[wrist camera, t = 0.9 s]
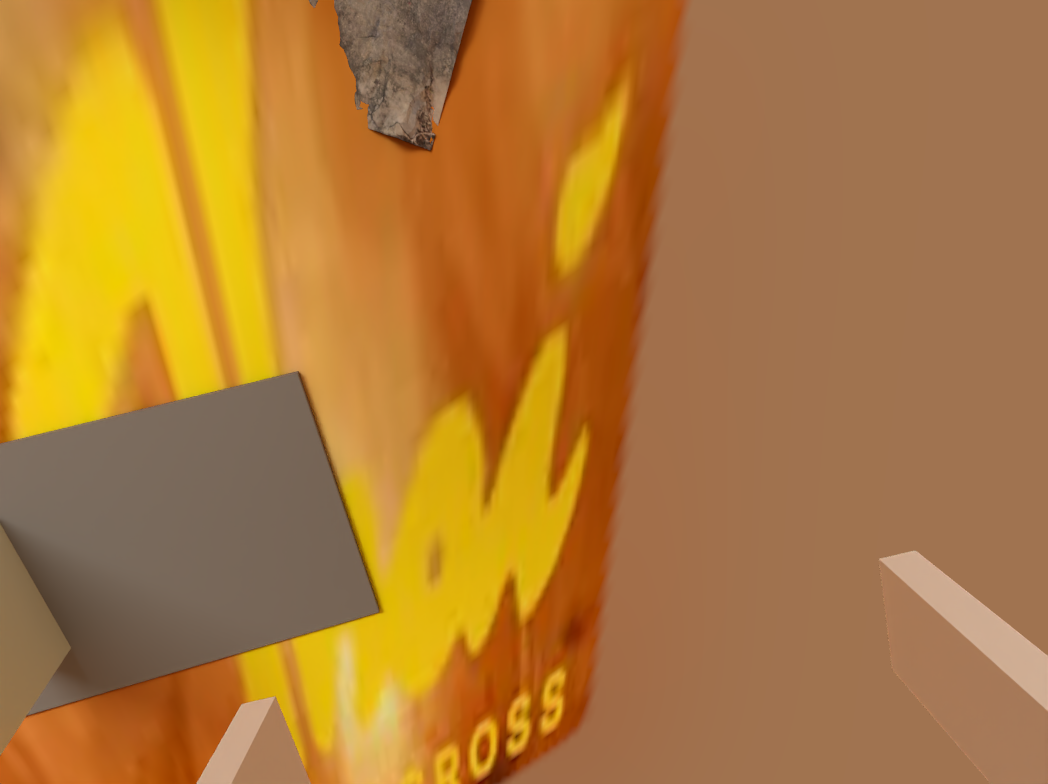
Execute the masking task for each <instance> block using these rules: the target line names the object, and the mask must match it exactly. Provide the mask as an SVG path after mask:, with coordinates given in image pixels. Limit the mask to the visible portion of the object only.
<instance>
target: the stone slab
mask: <svg viewBox="0 0 1048 784" xmlns="http://www.w3.org/2000/svg"><path fill="white" fill-rule="evenodd" d="M471 1H472V0H334V7H335V10H336V12H337V15H338V25H339V30H340V46H341V47H342V48H343V49H344V51H345V53H346V56H347V59H348V63H349V67H350V69H351V70H352V72H353V74H354V76H355V78H356V89H357V91H356V93H355V104H356V107H357V110H358V109H363V108H360V107H359V106H360V103H361V101H362V102H364V103H366V104H369V107H368V115H367V116H368V128H369V129H372V130H375V131H377V132H380V133H383V134H386V135H389V136H392V137H395V138H398V139H401V140H403V141H406V142H409V143H411V144H414V145H417V146H420V147H422V148H425V149H428V150H431V149H432V145H433V141H434V138H435V134H434V133H432V122H431V120H432V116H433V120H434V122H435V123H436V124H437V126H438V123H439V120H440V116H441V112H442V109H443V105H444V101H445V97H446V94H447V90H448V86H449V83H450V79H451V75H452V71H453V68H454V64H455V60H456V57H457V53H458V49H459V46H460V42H461V38H462V34H463V31H464V27H465V23H466V20H467V16H468V12H469V9H470V5H471ZM309 2H310V4H311V5H312V6H313V7H314V8H315V6H316V4H317V2H318V0H309ZM431 107H433V108H434V110H433V109H431ZM433 112H434V114H433ZM431 133H432V134H431ZM431 137H432V139H433V141H432V142H431V144H430V138H431ZM425 138H426V139H425Z"/></svg>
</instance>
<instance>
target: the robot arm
mask: <svg viewBox="0 0 1048 784" xmlns="http://www.w3.org/2000/svg"><path fill="white" fill-rule="evenodd" d="M879 564H880V572H881V581H882V590H883V598H884V606H885V614H886V623H887V630H888V639H889V648H890V656H891V664H892V670H893V671H894V672H895V674H896V675H897V676H898V677H899V678H900V679H901V680H902V681H903V683H904V684H905V685H906V686H907V688H908V689H909V690H910V691H911V692H912V693H913V694H914V696H915V697H916V698H917V699H918V700H919V701H920V703H921V704H922V705H923V706H924V707H925V708H926V710H927V711H928V712H929V713H930V714H931V715H932V717H933V718H934V719H935V720H936V721H937V722H938V724H939V725H940V726H941V727H942V728H943V729H944V730H945V732H946V733H947V734H948V735H949V736H950V737H951V739H953V741H954V742H955V743H956V744H957V746H958V747H959V748H960V749H961V750H962V751H963V753H964V754H965V755H966V756H967V757H968V758H969V759H970V761H971V762H972V763H973V764H974V765H975V766H976V768H977V769H978V770H979V771H980V772H981V773H982V774H983V776H984V777H985V778H986V779H987V780H988V782H989V783H990V784H1048V656H1047V655H1046V654H1045V653H1043V652H1042V651H1041V650H1040V649H1038V648H1037V647H1036V646H1035V645H1033V644H1032V643H1031V642H1029V641H1028V640H1027V639H1026V638H1024V637H1023V636H1022V635H1021V634H1020V633H1018V632H1017V631H1016V630H1015V629H1013V628H1012V627H1011V626H1010V625H1008V624H1007V623H1006V622H1004V621H1003V620H1002V619H1001V618H999V617H998V616H997V615H996V614H994V613H993V612H992V611H991V610H989V609H988V608H987V607H986V606H984V605H983V604H982V603H981V602H979V601H978V600H977V599H976V598H974V597H973V596H972V595H971V594H969V593H968V592H967V591H966V590H964V589H963V588H962V587H961V586H959V585H958V584H957V583H956V582H954V581H953V580H952V579H950V578H949V577H948V576H947V575H946V574H944V573H943V572H942V571H941V570H939V569H938V568H937V567H935V566H934V565H933V564H932V563H930V562H929V561H928V560H927V559H925V558H924V557H923V556H922V555H920V554H919V553H918V552H917V551H912V552H907V553H903V554H898V555H895V556H890V557H885V558H881V559H879ZM197 784H311V783H310V780H309V778H308V776H307V773H306V771H305V768H304V766H303V763H302V761H301V758H300V756H299V753H298V751H297V748H296V746H295V743H294V741H293V739H292V736H291V734H290V731H289V729H288V726H287V724H286V721H285V719H284V716H283V714H282V711H281V709H280V706H279V704H278V702H277V699H276V697H271V698H266V699H262V700H257V701H253V702H249V703H244V704H241V706H240V708H239V710H238V711H237V713H236V715H235V717H234V718H233V720H232V722H231V724H230V725H229V727H228V729H227V731H226V733H225V734H224V736H223V738H222V740H221V741H220V743H219V745H218V747H217V748H216V750H215V752H214V754H213V755H212V757H211V759H210V761H209V762H208V764H207V766H206V768H205V769H204V771H203V773H202V775H201V777H200V778H199V780H198V782H197Z"/></svg>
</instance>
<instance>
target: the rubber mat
mask: <svg viewBox="0 0 1048 784" xmlns="http://www.w3.org/2000/svg"><path fill="white" fill-rule="evenodd" d="M0 524H1V526H2V528H3V529H4V531H5V533H6V535H7V536H8V538H9V540H10V542H11V543H12V545H13V547H14V549H15V550H16V552H17V554H18V556H19V557H20V559H21V561H22V563H23V564H24V566H25V568H26V570H27V571H28V573H29V575H30V577H31V578H32V580H33V582H34V584H35V585H36V587H37V589H38V591H39V592H40V594H41V596H42V598H43V599H44V601H45V603H46V605H47V606H48V608H49V610H50V612H51V613H52V615H53V617H54V619H55V620H56V622H57V624H58V626H59V627H60V629H61V631H62V633H63V634H64V636H65V638H66V640H67V641H68V643H69V645H70V647H71V649H70V651H69V652H68V654H67V655H66V657H65V658H64V660H63V661H62V663H61V664H60V666H59V667H58V669H57V670H56V672H55V673H54V675H53V676H52V678H51V679H50V681H49V682H48V684H47V685H46V687H45V688H44V690H43V691H42V693H41V695H40V696H39V698H38V699H37V701H36V702H35V704H34V705H33V707H32V708H31V710H30V711H29V713H28V714H27V715H30V714H34V713H37V712H41V711H44V710H47V709H51V708H54V707H58V706H61V705H64V704H68V703H71V702H75V701H78V700H81V699H85V698H88V697H92V696H95V695H99V694H102V693H105V692H109V691H112V690H116V689H119V688H122V687H126V686H129V685H133V684H136V683H139V682H143V681H146V680H150V679H153V678H157V677H160V676H163V675H167V674H170V673H174V672H177V671H180V670H184V669H187V668H191V667H194V666H197V665H201V664H204V663H208V662H211V661H214V660H218V659H221V658H225V657H228V656H232V655H235V654H238V653H242V652H245V651H249V650H252V649H255V648H259V647H262V646H266V645H269V644H272V643H276V642H279V641H283V640H286V639H289V638H293V637H296V636H300V635H303V634H307V633H310V632H313V631H317V630H320V629H324V628H327V627H330V626H334V625H337V624H341V623H344V622H347V621H351V620H354V619H358V618H361V617H365V616H368V615H371V614H375V613H378V612H379V607H378V604H377V601H376V598H375V595H374V592H373V589H372V586H371V583H370V580H369V577H368V574H367V571H366V568H365V566H364V563H363V560H362V557H361V554H360V551H359V548H358V545H357V542H356V539H355V536H354V533H353V530H352V527H351V525H350V522H349V519H348V516H347V513H346V510H345V507H344V504H343V501H342V498H341V495H340V492H339V489H338V486H337V483H336V481H335V478H334V475H333V472H332V469H331V466H330V463H329V460H328V457H327V454H326V451H325V448H324V445H323V442H322V440H321V437H320V434H319V431H318V428H317V425H316V422H315V419H314V416H313V413H312V410H311V407H310V404H309V401H308V398H307V396H306V393H305V390H304V387H303V384H302V381H301V378H300V375H299V372H298V371H297V372H293V373H289V374H285V375H281V376H277V377H273V378H268V379H264V380H260V381H256V382H252V383H248V384H244V385H240V386H236V387H231V388H227V389H223V390H219V391H215V392H211V393H207V394H203V395H199V396H194V397H190V398H186V399H182V400H178V401H174V402H170V403H166V404H162V405H157V406H153V407H149V408H145V409H141V410H137V411H133V412H129V413H125V414H120V415H116V416H112V417H108V418H104V419H100V420H96V421H92V422H88V423H83V424H79V425H75V426H71V427H67V428H63V429H59V430H55V431H51V432H46V433H42V434H38V435H34V436H30V437H26V438H22V439H18V440H14V441H9V442H5V443H1V444H0Z"/></svg>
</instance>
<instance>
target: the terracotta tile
mask: <svg viewBox="0 0 1048 784" xmlns="http://www.w3.org/2000/svg"><path fill="white" fill-rule="evenodd" d="M70 649H71V647H70V645H69V643H68V641H67V640H66V638H65V636H64V634H63V633H62V631H61V629H60V627H59V626H58V624H57V622H56V620H55V619H54V617H53V615H52V613H51V612H50V610H49V608H48V606H47V605H46V603H45V601H44V599H43V598H42V596H41V594H40V592H39V591H38V589H37V587H36V585H35V584H34V582H33V580H32V578H31V577H30V575H29V573H28V571H27V570H26V568H25V566H24V564H23V563H22V561H21V559H20V557H19V556H18V554H17V552H16V550H15V549H14V547H13V545H12V543H11V542H10V540H9V538H8V536H7V535H6V533H5V531H4V529H3V528H2V526H1V524H0V755H1V754H2V752H3V751H4V749H5V748H6V746H7V745H8V743H9V742H10V740H11V738H12V737H13V735H14V734H15V732H16V731H17V729H18V728H19V726H20V725H21V723H22V722H23V720H24V719H25V717H26V716H27V714H28V713H29V711H30V710H31V708H32V707H33V705H34V704H35V702H36V701H37V699H38V698H39V696H40V695H41V693H42V691H43V690H44V688H45V687H46V685H47V684H48V682H49V681H50V679H51V678H52V676H53V675H54V673H55V672H56V670H57V669H58V667H59V666H60V664H61V663H62V661H63V660H64V658H65V657H66V655H67V654H68V652H69V651H70Z"/></svg>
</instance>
